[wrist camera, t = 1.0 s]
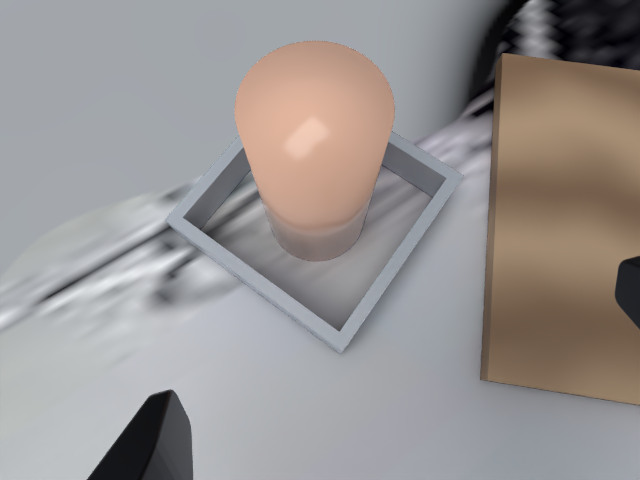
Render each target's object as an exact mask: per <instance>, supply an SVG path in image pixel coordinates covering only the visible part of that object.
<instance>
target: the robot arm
mask: <svg viewBox="0 0 640 480" xmlns="http://www.w3.org/2000/svg"><path fill="white" fill-rule="evenodd" d="M614 295H615V299H616V302H617V304H618V305H619V307H620V308H621V309H622V310H623V311H624V312H625V314H626V315H627V316H628V317H629V318H630V319H631V320H632V322H633V323H634V324H635V325H636V326H637V327H638V328H639V330H640V256H636V257H632V258H629V259H625V260H623V261H622V262H621V263H620V264H619V266H618V272H617V279H616V286H615V293H614ZM87 480H193V460H192V435H191V425H190V421H189V419H188V416H187V414H186V412H185V410H184V408H183V406H182V404H181V402H180V400H179V398H178V396H177V394H176V393H175V392H174V391H173V390H166V391H162V392H159V393H155V394H153V395H151V396H149V397H148V398H147V400H146V401H145V402H144V404H143V405H142V406H141V408H140V409H139V410H138V412H137V413H136V414H135V416H134V417H133V418H132V420H131V421H130V422H129V424H128V425H127V427H126V428H125V429H124V431H123V432H122V433H121V435H120V436H119V437H118V439H117V440H116V441H115V443H114V444H113V445H112V447H111V448H110V449H109V451H108V452H107V453H106V455H105V456H104V457H103V459H102V460H101V461H100V463H99V464H98V465H97V467H96V468H95V469H94V471H93V472H92V473H91V475H90V476H89V477H88V479H87Z"/></svg>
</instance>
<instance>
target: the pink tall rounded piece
mask: <svg viewBox="0 0 640 480" xmlns="http://www.w3.org/2000/svg"><path fill="white" fill-rule="evenodd" d="M394 114H395V107H394V98H393V95H392V91H391V88H390V86H389V83H388V81H387V80H386V78H385V76H384V75H383V73H382V72H381V71H380V70H379V68H378V67H377V66H376V65H375V64H374V63H373V62H372V61H371V60H369V59H368V58H367V57H365V56H364V55H363V54H361V53H359V52H357V51H356V50H354V49H351V48H349V47H347V46H344V45H341V44H337V43H333V42H327V41H304V42H297V43H293V44H289V45H286V46H283V47H281V48H278V49H276V50H274V51H273V52H270V53H269V54H267V55H266V56H264V57H263V58H262V59H260V60H259V61H258V62H257V63H256V64H255V65H254V66H253V67H252V68H251V69H250V70H249V71H248V73H247V74H246V76H245V77H244V79H243V81H242V83H241V85H240V87H239V90H238V93H237V96H236V102H235V119H236V125H237V129H238V132H239V135H240V138H241V141H242V144H243V147H244V150H245V153H246V156H247V159H248V162H249V164H250V167H251V170H252V173H253V176H254V179H255V182H256V185H257V188H258V191H259V194H260V197H261V200H262V203H263V205H264V208H265V211H266V214H267V217H268V220H269V223H270V226H271V229H272V232H273V234H274V236H275V238H276V240H277V241H278V243H279V244H280V245H281V246H282V247H283V248H284V249H285V250H286V251H287V252H289V253H290V254H292V255H294V256H296V257H298V258H301V259H304V260H308V261H325V260H330V259H333V258H336V257H338V256H340V255H342V254H343V253H345V252H346V251H347V250H349V249H350V248H351V247H352V246H353V245H354V243H355V242H356V241H357V239H358V237H359V235H360V233H361V231H362V228H363V224H364V221H365V218H366V214H367V211H368V208H369V204H370V201H371V197H372V194H373V191H374V187H375V184H376V181H377V177H378V174H379V171H380V167H381V164H382V160H383V157H384V154H385V150H386V147H387V144H388V140H389V137H390V134H391V130H392V127H393V122H394Z"/></svg>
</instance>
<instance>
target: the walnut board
mask: <svg viewBox="0 0 640 480" xmlns="http://www.w3.org/2000/svg"><path fill="white" fill-rule="evenodd" d="M636 256H640V71H637V70H629V69H622V68H614V67H606V66H598V65H591V64H583V63H575V62H567V61H560V60H552V59H544V58H536V57H529V56H521V55H513V54H505V53H502V55H501V57H500V59H499V60H498V62H497V64H496V73H495V93H494V113H493V134H492V154H491V174H490V194H489V215H488V235H487V255H486V275H485V296H484V316H483V336H482V356H481V377H480V380H485V381H492V382H498V383H504V384H510V385H516V386H523V387H529V388H535V389H541V390H547V391H553V392H560V393H566V394H572V395H578V396H584V397H591V398H597V399H603V400H609V401H615V402H621V403H628V404H634V405H640V330H639V328H638V327H637V326H636V325H635V324H634V323H633V322H632V320H631V319H630V318H629V317H628V316H627V315H626V314H625V312H624V311H623V310H622V309H621V308H620V307H619V305H618V304H617V302H616V299H615V295H614V293H615V286H616V279H617V272H618V266H619V264H620V263H621V262H622V261H623V260H625V259H629V258H632V257H636Z"/></svg>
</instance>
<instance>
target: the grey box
mask: <svg viewBox="0 0 640 480" xmlns="http://www.w3.org/2000/svg"><path fill="white" fill-rule="evenodd" d="M382 165H383V166H385V167H386V168H388V169H390V170H391V171H393V172H394V173H396V174H397V175H399V176H401V177H402V178H404V179H405V180H407V181H408V182H410V183H411V184H413V185H415V186H416V187H418V188H419V189H421V190H422V191H424V192H426V193H427V194H429V195H430V196H432V197H433V199H432V200H431V201H430V203H429V204H428V206H427V207H426V209H425V210H424V211H423V213H422V214H421V216H420V217H419V219H418V220H417V221H416V223H415V224H414V226H413V227H412V229H411V230H410V231H409V233H408V234H407V236H406V237H405V239H404V240H403V242H402V243H401V244H400V246H399V247H398V249H397V250H396V252H395V253H394V254H393V256H392V257H391V259H390V260H389V262H388V263H387V264H386V266H385V267H384V269H383V270H382V272H381V273H380V274H379V276H378V277H377V279H376V280H375V282H374V283H373V284H372V286H371V287H370V289H369V290H368V292H367V293H366V294H365V296H364V297H363V299H362V300H361V302H360V303H359V305H358V306H357V307H356V309H355V310H354V312H353V313H352V315H351V316H350V317H349V319H348V320H347V322H346V323H345V325H344V326H343V327H342V329H341V330H340V332H339V331H337V330H336V329H335V328H333V327H332V326H331V325H329V324H328V323H326V322H325V321H324V320H322V319H321V318H320V317H318V316H317V315H315V314H314V313H313V312H311V311H310V310H309V309H307V308H306V307H305V306H303V305H302V304H300V303H299V302H298V301H296V300H295V299H294V298H292V297H291V296H289V295H288V294H287V293H285V292H284V291H283V290H281V289H280V288H278V287H277V286H276V285H274V284H273V283H272V282H270V281H269V280H268V279H266V278H265V277H263V276H262V275H261V274H259V273H258V272H257V271H255V270H254V269H252V268H251V267H250V266H248V265H247V264H246V263H244V262H243V261H242V260H240V259H239V258H237V257H236V256H235V255H233V254H232V253H231V252H229V251H228V250H226V249H225V248H224V247H222V246H221V245H220V244H218V243H217V242H216V241H214V240H213V239H211V238H210V237H209V236H207V235H206V234H205V233H203V232H202V231H200V229H201V228H202V227H203V226H204V224H205V223H206V222H207V221H208V220H209V219H210V217H211V216H212V215H213V214H214V213H215V211H216V210H217V209H218V208H219V207H220V205H221V204H222V203H223V202H224V201H225V200H226V198H227V197H228V196H229V195H230V194H231V192H232V191H233V190H234V189H235V188H236V187H237V185H238V184H239V183H240V182H241V181H242V179H243V178H244V177H245V176H246V175H247V173H248V172H249V171H250V170H251V167H250V164H249V162H248V159H247V156H246V153H245V150H244V147H243V144H242V141H241V138H240V135H238V137H237V138H236V139H235V140H234V141H233V142H232V143H231V145H230V146H229V147H228V148H227V149H226V150H225V152H224V153H223V154H222V155H221V156H220V157H219V158H218V160H217V161H216V162H215V163H214V164H213V165H212V166H211V167H210V169H209V170H208V171H207V172H206V173H205V174H204V175H203V177H202V178H201V179H200V180H199V181H198V182H197V183H196V185H195V186H194V187H193V188H192V189H191V190H190V191H189V193H188V194H187V195H186V196H185V197H184V198H183V200H182V201H181V202H180V203H179V204H178V205H177V206H176V208H175V209H174V210H173V211H172V212H171V213H170V214H169V216H168V217H167V218H166V219H165V221H166V222H167V223H168V224H169V225H170V226H171V227H172V228H173V229H174V230H175V231H176V232H177V233H178V234H179V235H180V236H181V237H183V238H184V239H186V240H187V241H188V242H190V243H191V244H192V245H194V246H195V247H196V248H198V249H199V250H200V251H202V252H203V253H204V254H206V255H207V256H209V257H210V258H211V259H213V260H214V261H215V262H217V263H218V264H219V265H221V266H222V267H223V268H225V269H226V270H227V271H229V272H230V273H231V274H233V275H234V276H236V277H237V278H238V279H240V280H241V281H242V282H244V283H245V284H246V285H248V286H249V287H250V288H252V289H253V290H254V291H256V292H257V293H258V294H260V295H261V296H263V297H264V298H265V299H267V300H268V301H269V302H271V303H272V304H273V305H275V306H276V307H277V308H279V309H280V310H281V311H283V312H284V313H285V314H287V315H288V316H290V317H291V318H292V319H294V320H295V321H296V322H298V323H299V324H300V325H302V326H303V327H304V328H306V329H307V330H308V331H310V332H311V333H312V334H314V335H315V336H317V337H318V338H319V339H321V340H322V341H323V342H325V343H326V344H327V345H329V346H330V347H331V348H333V349H334V350H335V351H337V352H338V353H339V354H341V353H342V352H343V351H344V349H345V348H346V346H347V345H348V343H349V342H350V340H351V339H352V338H353V336H354V335H355V333H356V332H357V330H358V329H359V327H360V326H361V324H362V323H363V322H364V320H365V319H366V317H367V316H368V314H369V313H370V311H371V310H372V308H373V307H374V306H375V304H376V303H377V301H378V300H379V298H380V297H381V295H382V294H383V292H384V291H385V290H386V288H387V287H388V285H389V284H390V282H391V281H392V279H393V278H394V276H395V275H396V274H397V272H398V271H399V269H400V268H401V266H402V265H403V263H404V262H405V260H406V259H407V258H408V256H409V255H410V253H411V252H412V250H413V249H414V247H415V246H416V244H417V243H418V242H419V240H420V239H421V237H422V236H423V234H424V233H425V231H426V230H427V228H428V227H429V226H430V224H431V223H432V221H433V220H434V218H435V217H436V215H437V214H438V212H439V211H440V210H441V208H442V207H443V205H444V204H445V202H446V201H447V199H448V198H449V196H450V195H451V194H452V192H453V191H454V189H455V188H456V186H457V185H458V183H459V182H460V180H461V179H462V178H463V176H464V175H462V174H460V173H459V172H457V171H456V170H454V169H452V168H451V167H449V166H448V165H446V164H444V163H443V162H441V161H439V160H438V159H436V158H435V157H433V156H431V155H430V154H428V153H427V152H425V151H423V150H422V149H420V148H419V147H417V146H415V145H414V144H412V143H411V142H409V141H407V140H406V139H404V138H402V137H401V136H399V135H398V134H396V133H394V132H393V131H391V134H390V137H389V140H388V144H387V147H386V150H385V154H384V157H383V160H382Z"/></svg>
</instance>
